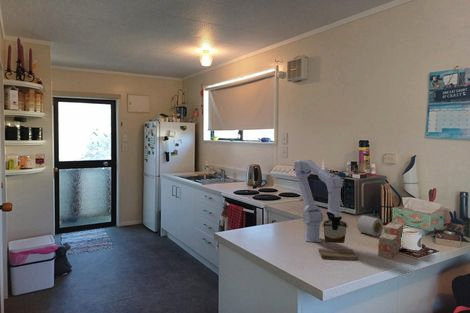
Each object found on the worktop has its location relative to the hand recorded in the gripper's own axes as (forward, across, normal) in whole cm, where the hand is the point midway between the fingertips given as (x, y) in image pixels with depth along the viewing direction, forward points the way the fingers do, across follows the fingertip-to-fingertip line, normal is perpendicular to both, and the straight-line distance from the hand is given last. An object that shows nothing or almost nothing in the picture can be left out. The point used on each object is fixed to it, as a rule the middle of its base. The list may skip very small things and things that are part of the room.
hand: (333, 228), depth 167 cm
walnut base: (+10, -10, 0) cm, 14 cm away
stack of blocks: (+11, -1, -28) cm, 30 cm away
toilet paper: (+11, +28, -27) cm, 41 cm away
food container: (+7, 0, 0) cm, 7 cm away
